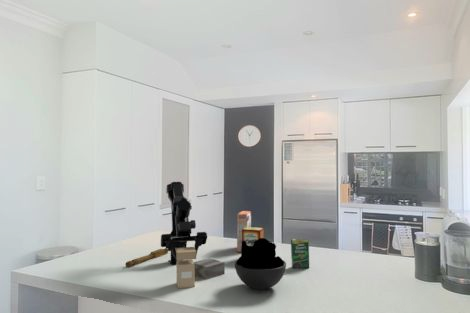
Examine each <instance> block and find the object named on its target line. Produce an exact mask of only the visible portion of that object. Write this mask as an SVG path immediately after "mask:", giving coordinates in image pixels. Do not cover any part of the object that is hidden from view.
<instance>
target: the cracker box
mask: <svg viewBox="0 0 470 313" xmlns="http://www.w3.org/2000/svg"><path fill="white" fill-rule="evenodd" d="M236 222H237V223H236V225H237V226H236V227H237V228H236V230H237V231H236V232H237V234H236V240H237V241H236V245H237V246H236V252H237V253H242V252H241V247H242V229H243V228H245V227H252V211H250V210H242V211H240V212H238V213H237V221H236Z"/></svg>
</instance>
